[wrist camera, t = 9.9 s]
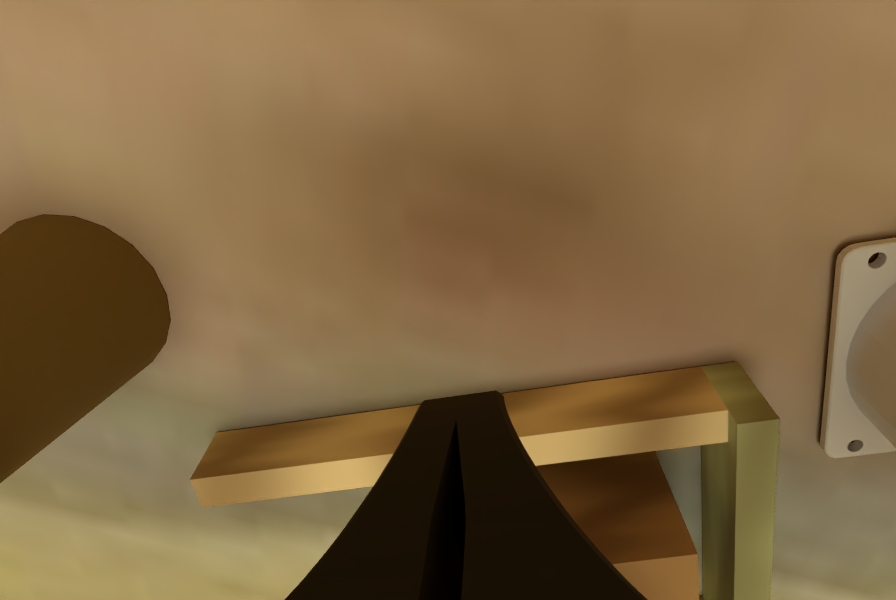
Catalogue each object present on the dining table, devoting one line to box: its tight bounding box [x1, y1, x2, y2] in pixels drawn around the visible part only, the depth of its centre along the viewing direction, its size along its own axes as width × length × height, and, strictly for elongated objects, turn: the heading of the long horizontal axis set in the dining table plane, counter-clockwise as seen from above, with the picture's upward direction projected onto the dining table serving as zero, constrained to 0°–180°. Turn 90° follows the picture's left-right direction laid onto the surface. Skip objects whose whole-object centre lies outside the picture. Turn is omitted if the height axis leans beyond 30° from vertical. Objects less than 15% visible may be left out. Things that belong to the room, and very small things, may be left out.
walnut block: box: [536, 451, 699, 600], centre depth 22 cm, size 5×6×5 cm
